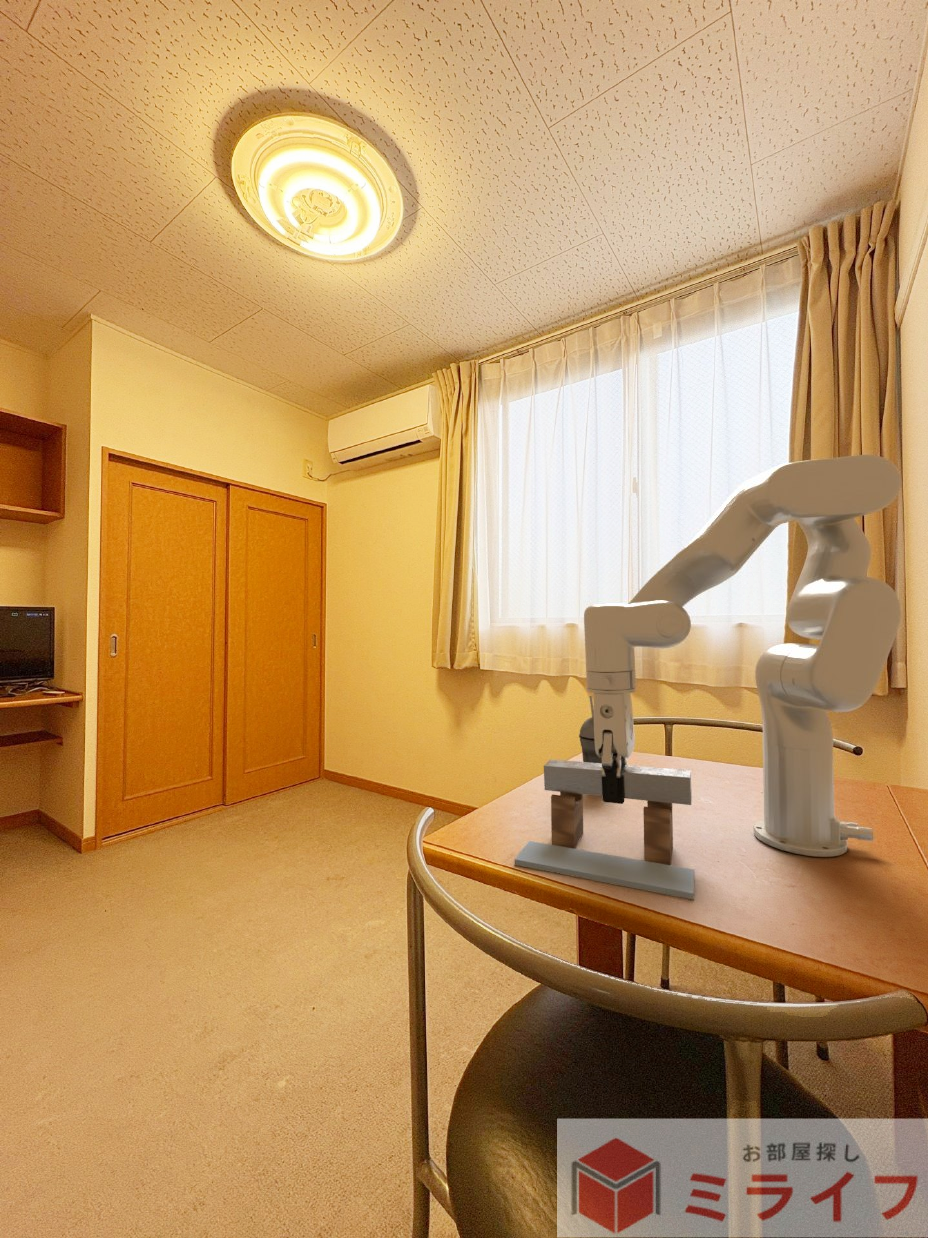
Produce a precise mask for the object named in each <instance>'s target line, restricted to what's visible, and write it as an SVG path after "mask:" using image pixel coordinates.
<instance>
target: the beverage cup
mask: <svg viewBox="0 0 928 1238" xmlns="http://www.w3.org/2000/svg"><path fill="white" fill-rule="evenodd" d="M589 705H590V710H591V712H590V713H591V717H589V718H587V719H586V720H584V722H583V723H582V725H581V726H580V730H579V734H578V736H579V742H580V746H581V753H582V762H590V763H602V756H601V757H599V756H598V755H597V754H596V751H595V739H594V707H593V705H594V701H593V696H592V695H589Z"/></svg>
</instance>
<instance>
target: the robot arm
mask: <svg viewBox="0 0 928 1238" xmlns="http://www.w3.org/2000/svg"><path fill="white" fill-rule="evenodd" d="M901 486H902V476H901V473H900V470H899V469H898V467H897V466H896V465H895V463H893V462H892V461H890V460H889V459H888V458H886V457H883V456H880V455H876V454H875V455H874V454H859V455H848V456H840V457H828V458H819V459H809V460H808V459H807V460H801V461H795V462H794V461H793V462H787V463H783V464H780V465H778V466H777V465H776V466H775V467H773V468H771V469H769V470H766V471H764V472H762V473H760V474H758V475H756V476H754V477H752V478H750V479H748V480H746V481H745V482H744V483H742V484H741V485H739V486H738V488H737V489H735V490H734V492H732V494H731V495H730V496H729V497H728V498H727V500H726V501H724V502H723V504H722V505H721V507H720V508H719V509H718V510H717V511H716V512H715V513H714V515H713V516H712V517H711V518H710V519H709V520H708V522H706V524H705V525H704V526H703V527H702V528H701V529H700V531H699V532H698V533H697V534H696V535H695V537H694V538H693V539H691V540H690V542H688V544H687V545H686V546H685V547H683V548H682V549H681V550H680V551H678V552H677V553H676V555H675V556H673V558H671V559H670V560H669V561H668V562H667V563H666V564H665V565H664V566H662V567H661V568H660V569H659V570H658V571H657V572H656V573H655V574H653V576H652V577H651V578H650V579H649V580H648V581H647V582H646V583H645V584H644V585H643V586H642V587H641V588H640V589H639V591H638V592H637V593H636V594H635V595H634V596H633V598H632V599H631V600H630V601H629V602H628V604H625V603H603V604H602V603H601V604H593V605H590V606H588V607H586V609H585V610H584V613H583V627H584V647H585V648H584V652H585V669H586V671H585V674H586V676H585V677H586V691H587V692H588V693H593V709H594V739H595V751H596V754H597V755H598V756H599V757H601V756H602V796H601V798H602V801H603V802H604V803H611V804H617V805H618V804H620V805H622V804H624V803H625V798H624V780H623V777H621V765H628V764H627V760H628V759H629V758H630V756H631V754H632V753H633V751H634V748H635V747H636V738H635V737H636V736H635V726H634V715H633V713H634V712H633V702H632V695H631V693H635V692H637V680H636V679H637V677H636V658H635V648H640V647H641V648H653V649H662V650H663V649H670V648H673V647H674V648H675V647H676V646H678V645H680V644H681V643H683V642H684V641H685V640H686V639H687V638H688V636H689V635H690V631H691V628H692V624H691V623H692V621H691V618H690V615H689V613H688V611H687V610H686V609H685V608H684V606H686V605H687V604H688V603H689V602H690V601H692V600H693V599H695V598H696V597H697V596H699V595H701V594H702V593H704V592H706V591H709V590H710V589H712V588H715V587H717V586H718V585H720V584H723V583H724V582H725V581H727V580H729V579H730V578H731V577H734V575H736V574H737V573H738V572H739V571H740V570H741V569H742V568H743V566H744V565H745V564H746V563H747V562H748V560H749V559H750V558H751V557H752V556H753V554H754V553H755V552H756V551H757V550H758V548H759V547H760V546H761V545H762V544H763V543H764V542H765V541H766V540H767V539H768V537H769V536H770V534H772V532H774V530H775V529H776V528H777V527H779V526H780V525H782V524H786V523H790V522H792V521H796V523H797V524H798V526H799V527H800V528H801V530H802V532H803V534H804V536H805V538H806V542H807V554H806V558H805V560H804V564H803V567H802V570H801V573H800V575H799V577H798V579H797V582H796V585H795V588H794V590H793V592H792V595H791V598H790V599H789V603H788V606H787V611H786V622H787V626H788V627H789V629H790V630H791V631H792V632H793V633H794V634H796V635H798V636H800V637H802V638H806V639H812V640H820V641H819V643H818V644H813V643H796V642H793V643H791V642H790V643H781V644H777V645H774V646H772V647H771V648H768V649H767V650H766V651H764V652H763V653H762V654H761V655H760V657H759V659H758V660H757V663H756V666H755V672H754V674H755V675H754V676H755V685H756V689H757V693H758V698H759V704H760V711H761V720H762V765H763V767H762V771H763V772H762V773H763V781H762V782H763V819H762V820H758V821H756V822H755V823H754V824H753V834H754V835H755V837H756V838H757V839H758V840H759V841H761V842H763V843H764V844H766V845H768V846H771V847H773V848H775V849H778V850H781V851H784V852H788V853H792V854H796V855H802V856H809V857H817V858H818V857H819V858H831V857H838V856H841V855H843V854H845V853H846V852H847V851H848V840H849V839H857V840H860V841H863V842H864V841H865V842H874V839H875V838H874V831H873V828H872V827H865V826H859V823H858V822H852V821H842V820H841V821H840V819H839V818H838V817H837V815H836V814H835V786H834V785H835V784H834V783H835V781H834V780H835V779H834V778H835V777H834V735H833V728H832V723H831V720H830V716H829V713H828V711H829V712H835V713H845V712H846V713H847V712H851V711H855V710H857V709H859V708H860V707H862V706H863V705H864V704H866V703H867V701H868V700H870V698H871V696H872V694H874V691H875V690H876V687H877V685H878V683H879V681H880V678H881V676H882V673H883V671H884V668H885V665H886V663H887V660H888V657H889V654H890V653H891V650H892V647H893V645H894V642H895V639H896V636H897V635H898V630H899V627H900V623H901V617H902V616H901V615H902V612H901V603H900V600H899V598H898V595H897V593H896V592H895V590H894V589H893V588H892V587H891V586H890V585H889V584H888V583H886V582H885V581H883V580H881V579H878V578H876V577H870V576H869V577H868V576H867V574H868V571H869V570H868V569H869V567H870V565H871V561H872V560H871V558H872V548H871V545H870V542H869V540H868V537H867V535H866V534H865V533H864V531H863V529H862V528H861V526H860V525H859V523H858V521H857V520H856V518H859V517H863V516H866V515H871V514H873V513H877V512H879V511H882V510H883V509H885V508H886V507H888V506H890V504H892V503H893V502H894V501H895V500H896V498H897V497H898V495H899V493H900V491H901ZM848 838H849V839H848Z"/></svg>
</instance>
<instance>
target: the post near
mask: <svg viewBox="0 0 928 1238" xmlns="http://www.w3.org/2000/svg"><path fill="white" fill-rule="evenodd" d="M646 804H647V806H645V805H644V806H643V855H644V857H643V858H644V859H643V861H648V862H654V863H660V864H665V865H671V866H672V864H671V863H672V858H673V850H674V838H673V837H674V833H673V831H674V829H673V827H674V826H673V819H674V818H673V803H665V802H656V801H647V803H646Z"/></svg>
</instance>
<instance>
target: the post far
mask: <svg viewBox="0 0 928 1238" xmlns="http://www.w3.org/2000/svg"><path fill="white" fill-rule="evenodd" d="M559 793H560V794H554V793H553V794H551V796H550V816H551V817H550V819H551V822H550V824H551V827H550V828H551V833H550V834H551V845H556V846H562V847H567V848H573V849H576V847H577V845H578V844H579V842H580V840H581V838H582V836H583V834H584V796H583V795H584V794H577V793H568V792H559Z"/></svg>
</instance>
